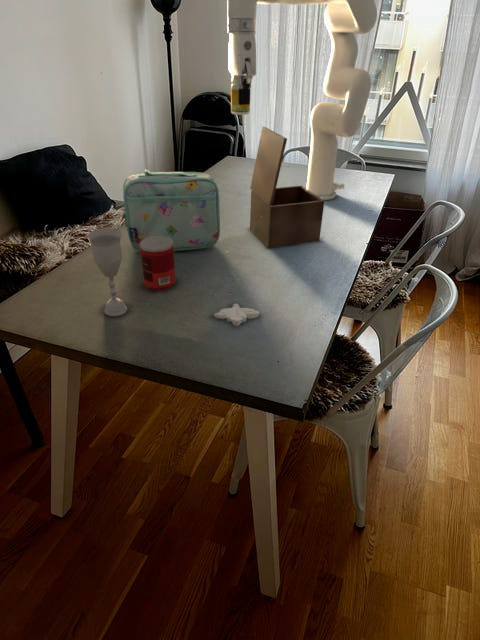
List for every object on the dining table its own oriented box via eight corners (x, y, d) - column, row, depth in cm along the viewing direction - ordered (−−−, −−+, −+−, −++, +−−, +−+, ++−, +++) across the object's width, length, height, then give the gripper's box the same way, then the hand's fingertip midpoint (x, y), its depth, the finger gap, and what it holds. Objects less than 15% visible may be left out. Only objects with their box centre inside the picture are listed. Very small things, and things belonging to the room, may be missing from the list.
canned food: (180, 278, 118) (178, 238, 112) (166, 293, 111) (163, 251, 105) (153, 273, 120) (150, 233, 114) (138, 287, 114) (133, 246, 107)
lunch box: (125, 257, 127) (115, 179, 115) (125, 242, 135) (115, 167, 123) (221, 250, 132) (221, 174, 120) (215, 236, 140) (215, 163, 128)
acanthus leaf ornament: (259, 316, 104) (259, 309, 103) (239, 329, 100) (240, 322, 99) (233, 304, 108) (233, 297, 107) (213, 316, 104) (213, 309, 103)
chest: (297, 223, 150) (301, 185, 144) (319, 241, 139) (324, 201, 132) (249, 229, 145) (251, 190, 139) (268, 248, 134) (270, 207, 127)
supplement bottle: (237, 110, 136) (237, 73, 131) (253, 113, 134) (254, 75, 129) (227, 113, 133) (227, 75, 127) (243, 115, 130) (244, 77, 125)
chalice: (102, 301, 108) (90, 228, 98) (132, 301, 108) (123, 228, 98) (97, 319, 102) (84, 243, 92) (129, 318, 102) (119, 242, 92)
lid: (265, 126, 130) (262, 126, 130) (287, 138, 118) (284, 138, 118) (252, 188, 138) (250, 188, 138) (272, 205, 127) (269, 205, 127)
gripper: (267, 28, 116) (264, 107, 126) (244, 25, 129) (242, 97, 140) (239, 28, 114) (238, 108, 124) (218, 25, 127) (218, 98, 137)
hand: (240, 101), depth 132 cm, fingers closed on supplement bottle, 5 cm apart
